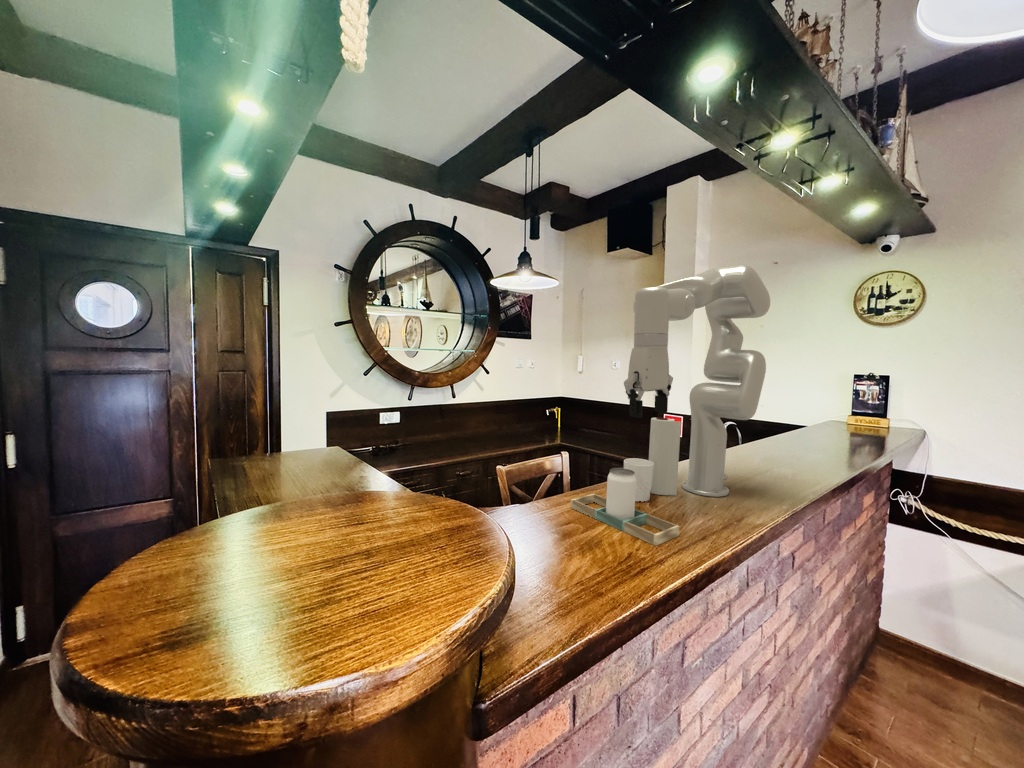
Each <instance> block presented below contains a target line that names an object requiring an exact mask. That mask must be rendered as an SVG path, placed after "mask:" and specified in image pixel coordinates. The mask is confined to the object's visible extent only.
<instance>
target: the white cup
mask: <svg viewBox="0 0 1024 768" xmlns="http://www.w3.org/2000/svg"><path fill="white" fill-rule="evenodd" d="M623 468H624V469H629V470H632V471H634V472H635V474H634V475H635V478H636V494H635V502H639V501H641V502H644V501H645V502H648V501H650V498H651V493H650V490H651V486H652V478H653V468H654V463H653V462H651V461H649V459H644V458H635V457H633V458H626V459H623ZM641 502H640V503H641Z"/></svg>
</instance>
